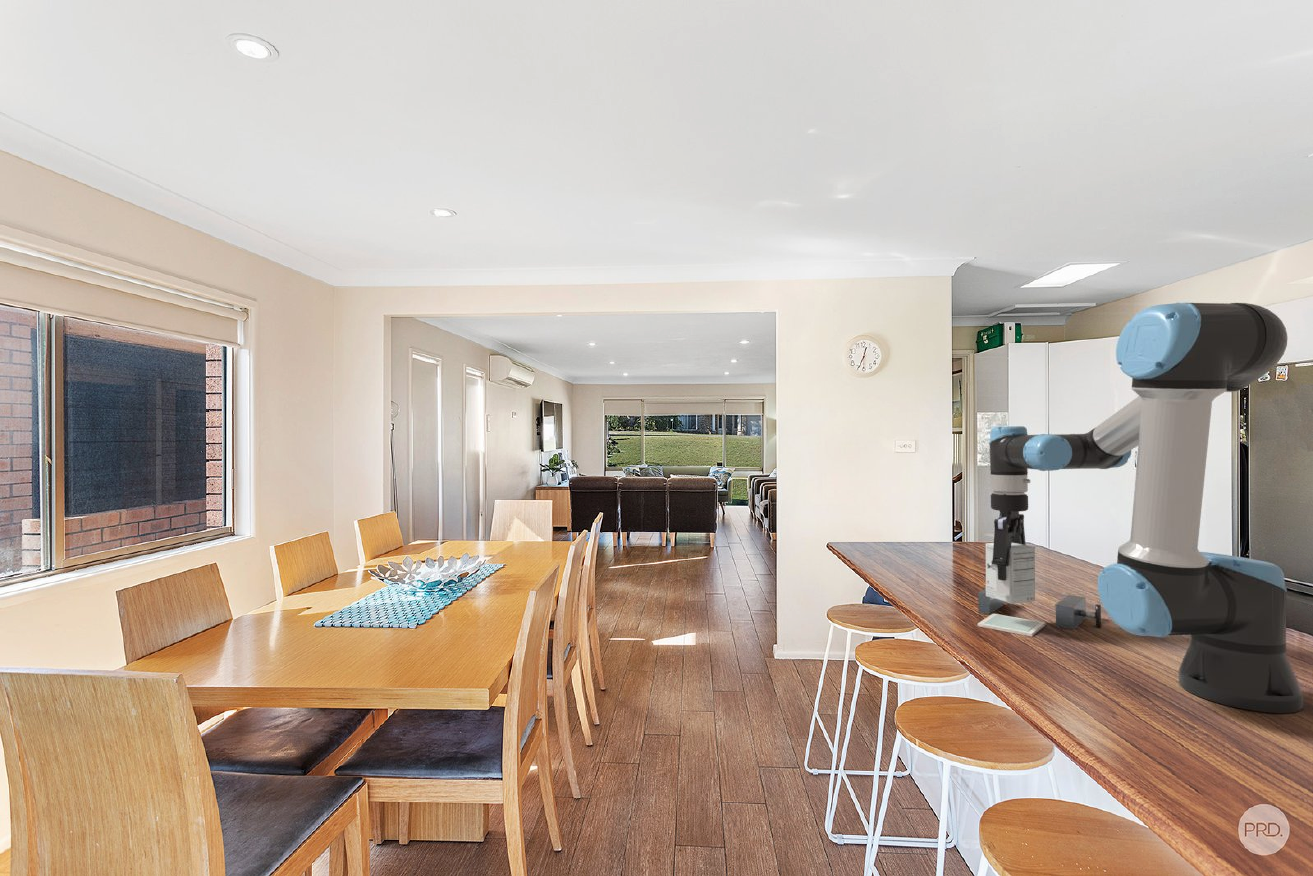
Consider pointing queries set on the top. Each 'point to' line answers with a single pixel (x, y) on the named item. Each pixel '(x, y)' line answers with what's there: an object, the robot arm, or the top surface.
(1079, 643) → the top surface
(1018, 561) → the supplement box
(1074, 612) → the vise
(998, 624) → the plate
